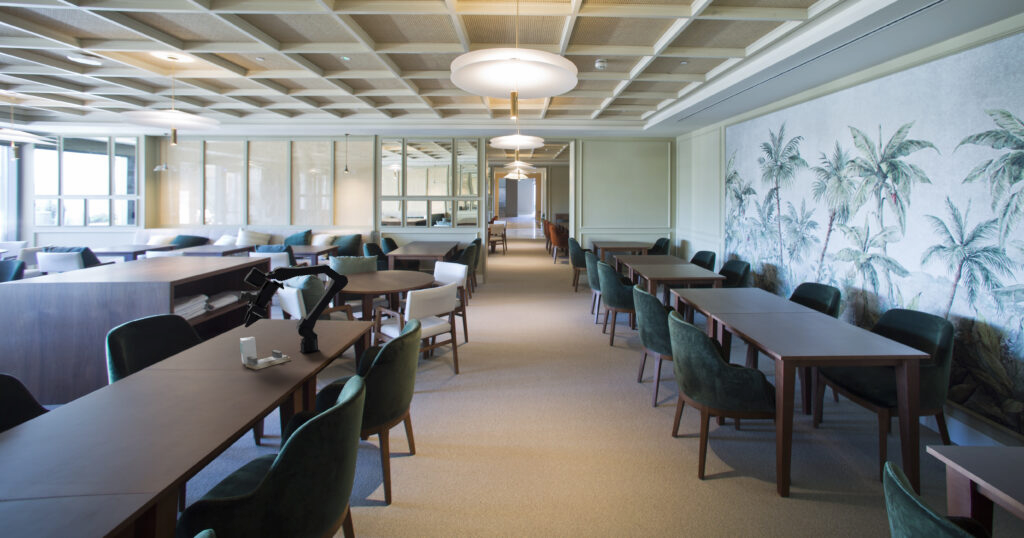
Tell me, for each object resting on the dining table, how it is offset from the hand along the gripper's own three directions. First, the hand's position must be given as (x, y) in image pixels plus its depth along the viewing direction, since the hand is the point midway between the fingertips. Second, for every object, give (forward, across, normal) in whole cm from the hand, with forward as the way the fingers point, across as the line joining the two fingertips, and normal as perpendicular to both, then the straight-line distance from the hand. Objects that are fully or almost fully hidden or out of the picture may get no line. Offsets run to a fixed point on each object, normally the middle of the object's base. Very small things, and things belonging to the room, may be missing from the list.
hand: (245, 324), depth 216 cm
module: (+12, +3, +9) cm, 16 cm away
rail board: (+8, +10, +15) cm, 19 cm away
